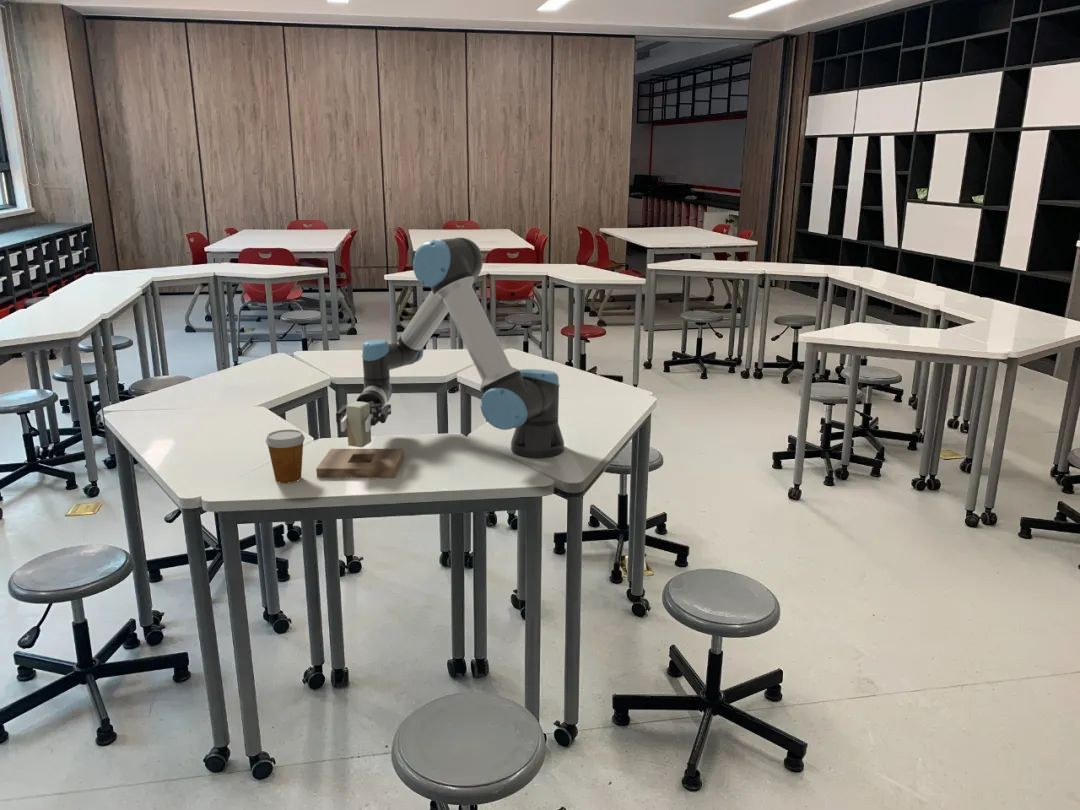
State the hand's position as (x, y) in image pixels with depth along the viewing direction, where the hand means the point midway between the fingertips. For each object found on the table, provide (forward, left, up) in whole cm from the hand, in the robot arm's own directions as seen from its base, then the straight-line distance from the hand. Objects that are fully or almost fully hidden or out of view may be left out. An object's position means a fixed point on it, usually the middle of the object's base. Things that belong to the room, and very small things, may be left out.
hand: (354, 426), depth 208 cm
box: (0, -5, -7) cm, 9 cm away
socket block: (0, -5, -13) cm, 14 cm away
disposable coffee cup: (+17, +4, -13) cm, 22 cm away
